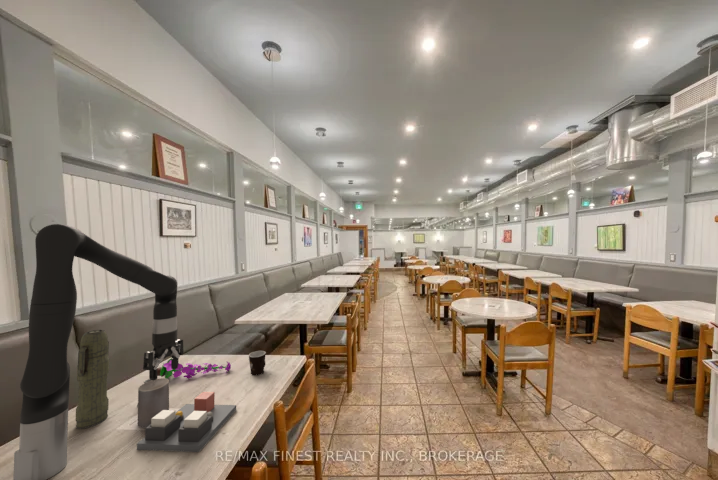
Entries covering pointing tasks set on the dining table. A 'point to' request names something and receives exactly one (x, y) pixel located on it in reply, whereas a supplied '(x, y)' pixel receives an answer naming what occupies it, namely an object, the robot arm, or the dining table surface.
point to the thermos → (92, 379)
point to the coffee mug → (257, 362)
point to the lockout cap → (204, 401)
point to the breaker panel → (185, 431)
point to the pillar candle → (152, 400)
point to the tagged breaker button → (163, 418)
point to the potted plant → (187, 369)
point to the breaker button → (195, 419)
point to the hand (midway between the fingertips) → (164, 373)
